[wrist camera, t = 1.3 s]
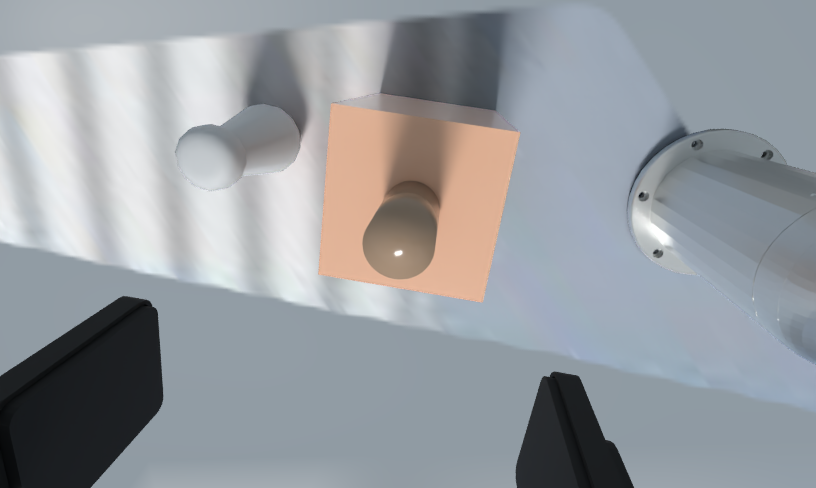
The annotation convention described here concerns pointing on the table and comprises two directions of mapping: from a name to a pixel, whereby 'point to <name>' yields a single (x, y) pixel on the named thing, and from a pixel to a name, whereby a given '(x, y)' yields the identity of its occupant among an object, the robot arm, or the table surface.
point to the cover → (415, 193)
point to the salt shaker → (238, 147)
